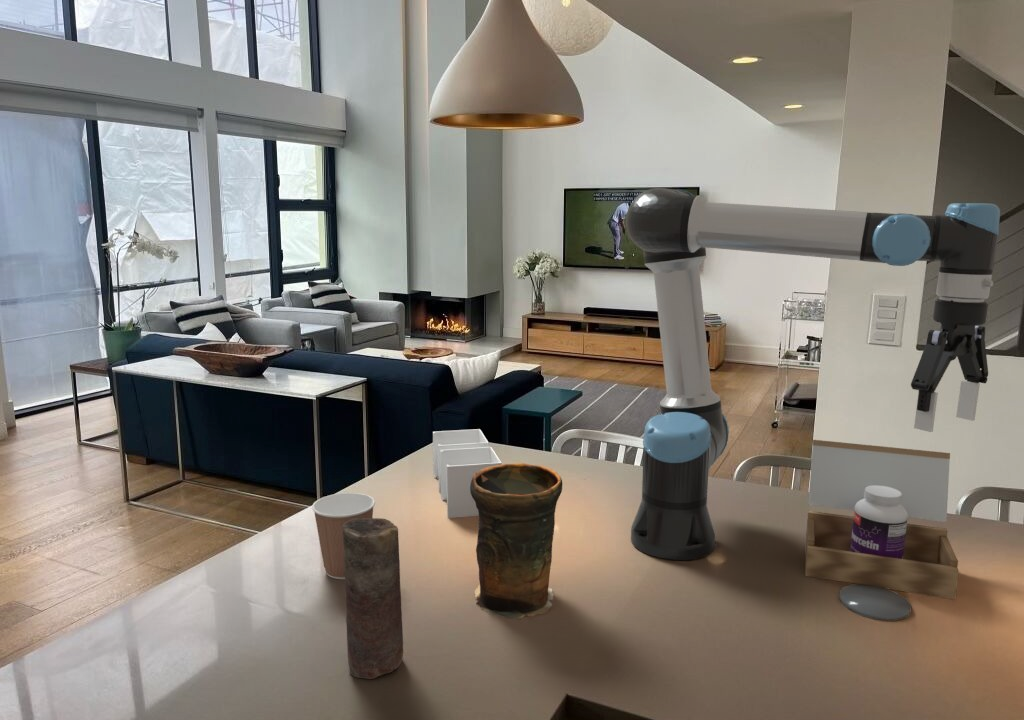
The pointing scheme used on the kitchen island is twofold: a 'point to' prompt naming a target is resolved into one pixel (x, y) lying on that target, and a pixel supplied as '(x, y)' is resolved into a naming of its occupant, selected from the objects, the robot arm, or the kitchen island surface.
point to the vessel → (515, 537)
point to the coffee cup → (338, 526)
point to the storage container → (460, 467)
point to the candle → (372, 596)
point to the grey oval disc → (875, 602)
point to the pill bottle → (879, 523)
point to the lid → (879, 477)
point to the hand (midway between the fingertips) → (944, 424)
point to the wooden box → (881, 558)
